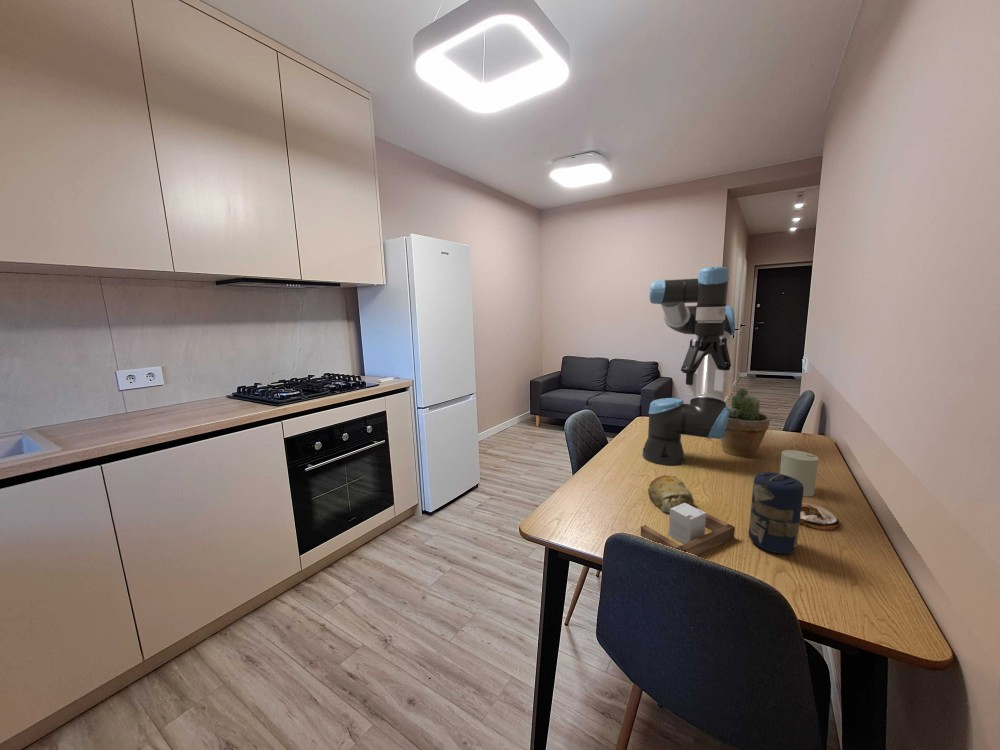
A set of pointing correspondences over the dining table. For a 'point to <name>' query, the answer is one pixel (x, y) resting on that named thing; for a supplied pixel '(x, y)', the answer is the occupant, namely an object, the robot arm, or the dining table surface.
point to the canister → (775, 512)
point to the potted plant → (744, 426)
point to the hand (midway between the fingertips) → (705, 393)
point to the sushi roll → (817, 517)
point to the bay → (702, 544)
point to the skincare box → (686, 523)
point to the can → (800, 468)
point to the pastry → (669, 493)
